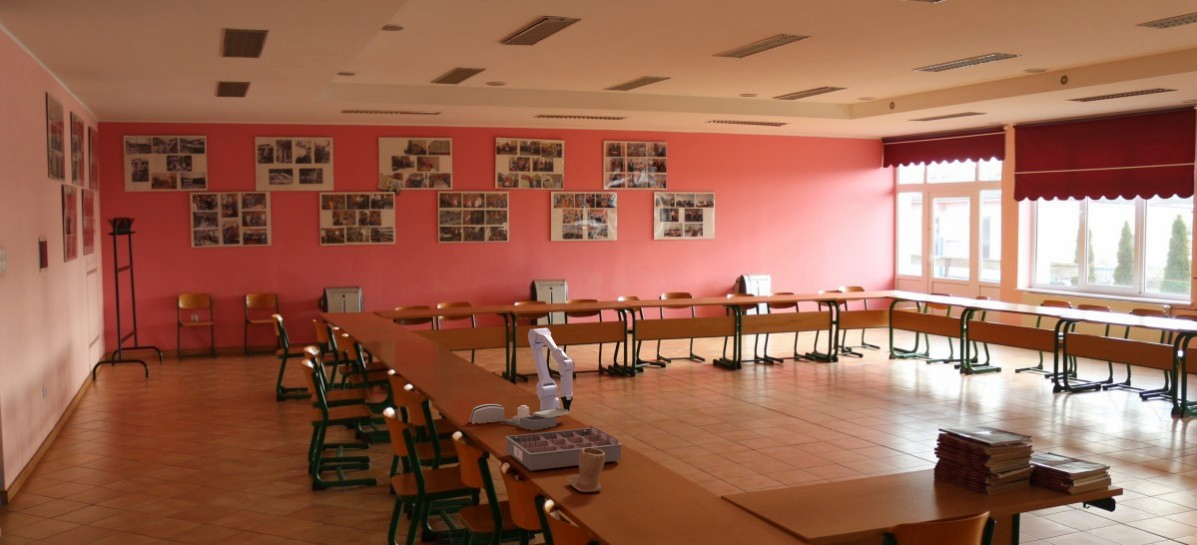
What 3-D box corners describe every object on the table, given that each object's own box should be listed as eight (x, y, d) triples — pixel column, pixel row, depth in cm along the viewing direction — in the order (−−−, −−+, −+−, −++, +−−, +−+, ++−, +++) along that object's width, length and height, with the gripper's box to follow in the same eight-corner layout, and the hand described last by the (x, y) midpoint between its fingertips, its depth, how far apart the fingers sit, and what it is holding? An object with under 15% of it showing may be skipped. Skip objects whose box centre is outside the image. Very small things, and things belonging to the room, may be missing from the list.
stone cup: (609, 492, 341) (609, 451, 340) (578, 495, 337) (578, 454, 336) (596, 481, 355) (596, 442, 354) (566, 484, 351) (566, 444, 350)
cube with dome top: (524, 418, 456) (524, 404, 456) (529, 419, 453) (529, 405, 453) (517, 419, 454) (517, 405, 453) (522, 421, 451) (522, 406, 450)
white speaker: (501, 418, 462) (503, 401, 459) (504, 423, 458) (506, 406, 455) (468, 421, 456) (470, 403, 452) (471, 427, 452) (473, 409, 448)
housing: (527, 418, 462) (527, 409, 462) (556, 426, 446) (556, 416, 446) (504, 423, 453) (504, 413, 453) (533, 430, 437) (533, 421, 436)
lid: (555, 410, 459) (555, 406, 459) (569, 413, 451) (569, 410, 451) (533, 414, 449) (533, 410, 449) (546, 418, 442) (546, 414, 442)
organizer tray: (504, 455, 394) (504, 431, 393) (592, 445, 410) (592, 423, 409) (529, 474, 365) (529, 449, 364) (623, 463, 380) (623, 439, 380)
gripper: (556, 381, 462) (556, 409, 463) (560, 387, 448) (560, 415, 449) (570, 381, 464) (570, 408, 464) (575, 386, 449) (575, 414, 450)
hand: (566, 411), depth 457 cm, fingers closed
